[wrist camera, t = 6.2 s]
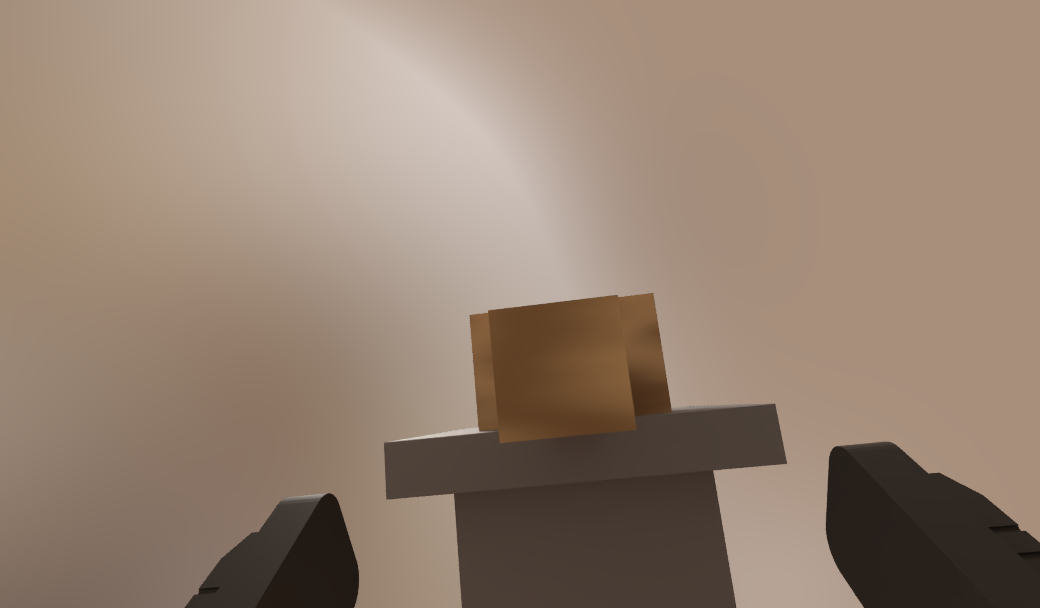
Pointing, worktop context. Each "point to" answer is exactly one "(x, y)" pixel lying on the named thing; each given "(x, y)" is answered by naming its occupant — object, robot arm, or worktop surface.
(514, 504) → the stand
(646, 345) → the brown wooden block
